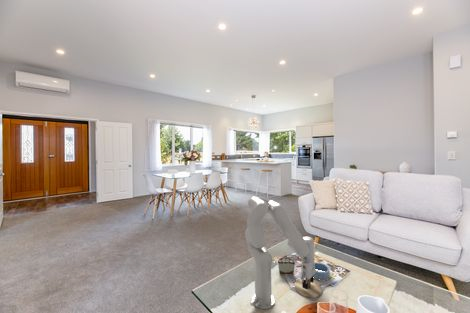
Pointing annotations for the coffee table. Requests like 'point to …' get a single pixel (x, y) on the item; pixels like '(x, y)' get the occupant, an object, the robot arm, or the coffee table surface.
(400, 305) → the coffee table surface
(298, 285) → the lid
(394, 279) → the coffee table surface
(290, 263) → the food container
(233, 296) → the coffee table surface
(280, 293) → the coffee table surface
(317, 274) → the bowl
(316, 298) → the mat
